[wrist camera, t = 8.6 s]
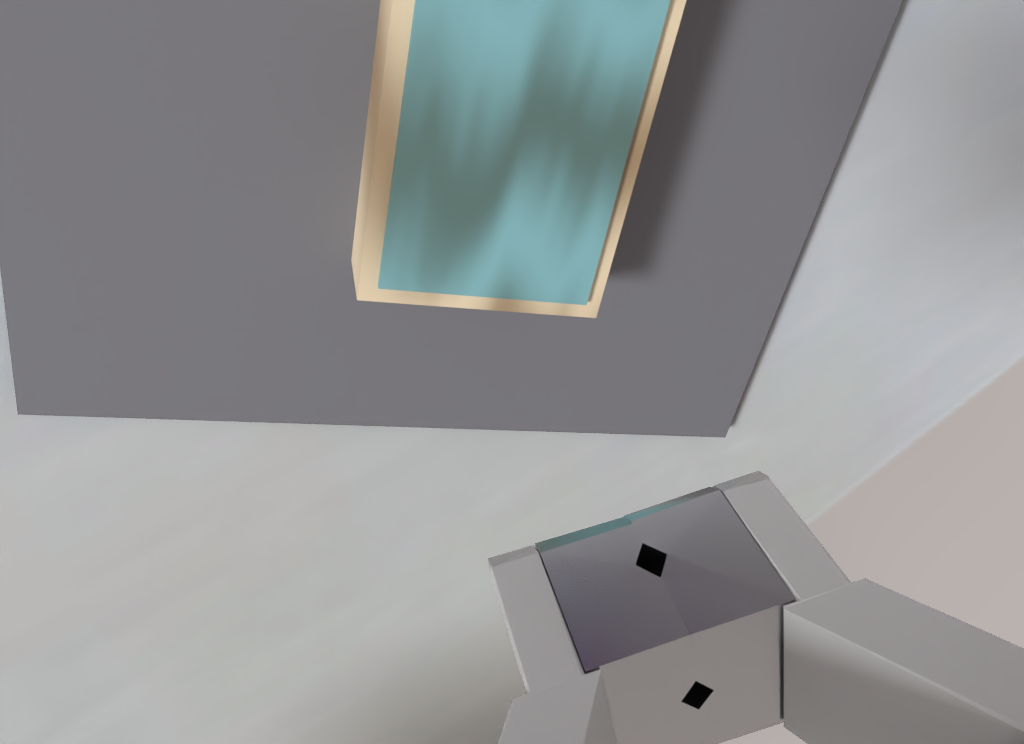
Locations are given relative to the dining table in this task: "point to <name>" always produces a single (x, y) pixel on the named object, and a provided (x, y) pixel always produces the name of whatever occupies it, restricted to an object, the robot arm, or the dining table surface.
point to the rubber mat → (332, 216)
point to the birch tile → (505, 149)
